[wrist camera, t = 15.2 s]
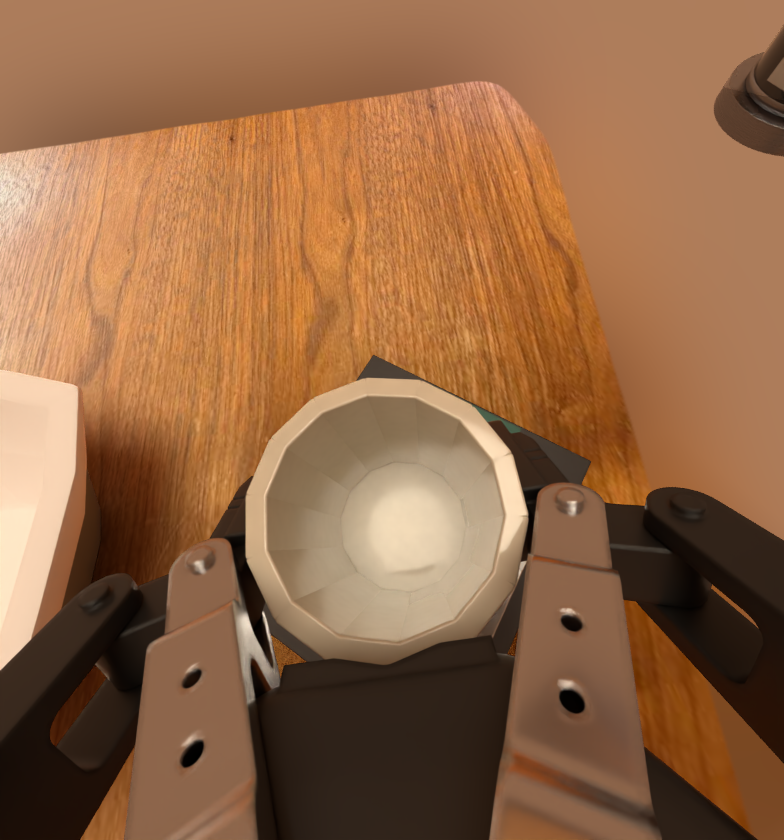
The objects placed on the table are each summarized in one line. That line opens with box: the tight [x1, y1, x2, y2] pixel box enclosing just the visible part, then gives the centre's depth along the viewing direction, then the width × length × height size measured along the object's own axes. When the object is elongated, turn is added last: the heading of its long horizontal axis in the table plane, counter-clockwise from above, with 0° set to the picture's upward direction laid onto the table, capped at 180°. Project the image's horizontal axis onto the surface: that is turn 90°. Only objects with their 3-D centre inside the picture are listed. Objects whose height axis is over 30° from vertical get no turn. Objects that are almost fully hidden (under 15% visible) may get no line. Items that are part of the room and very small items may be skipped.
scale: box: [263, 355, 591, 662], centre depth 20 cm, size 16×14×3 cm
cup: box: [246, 378, 529, 665], centre depth 11 cm, size 6×6×8 cm
